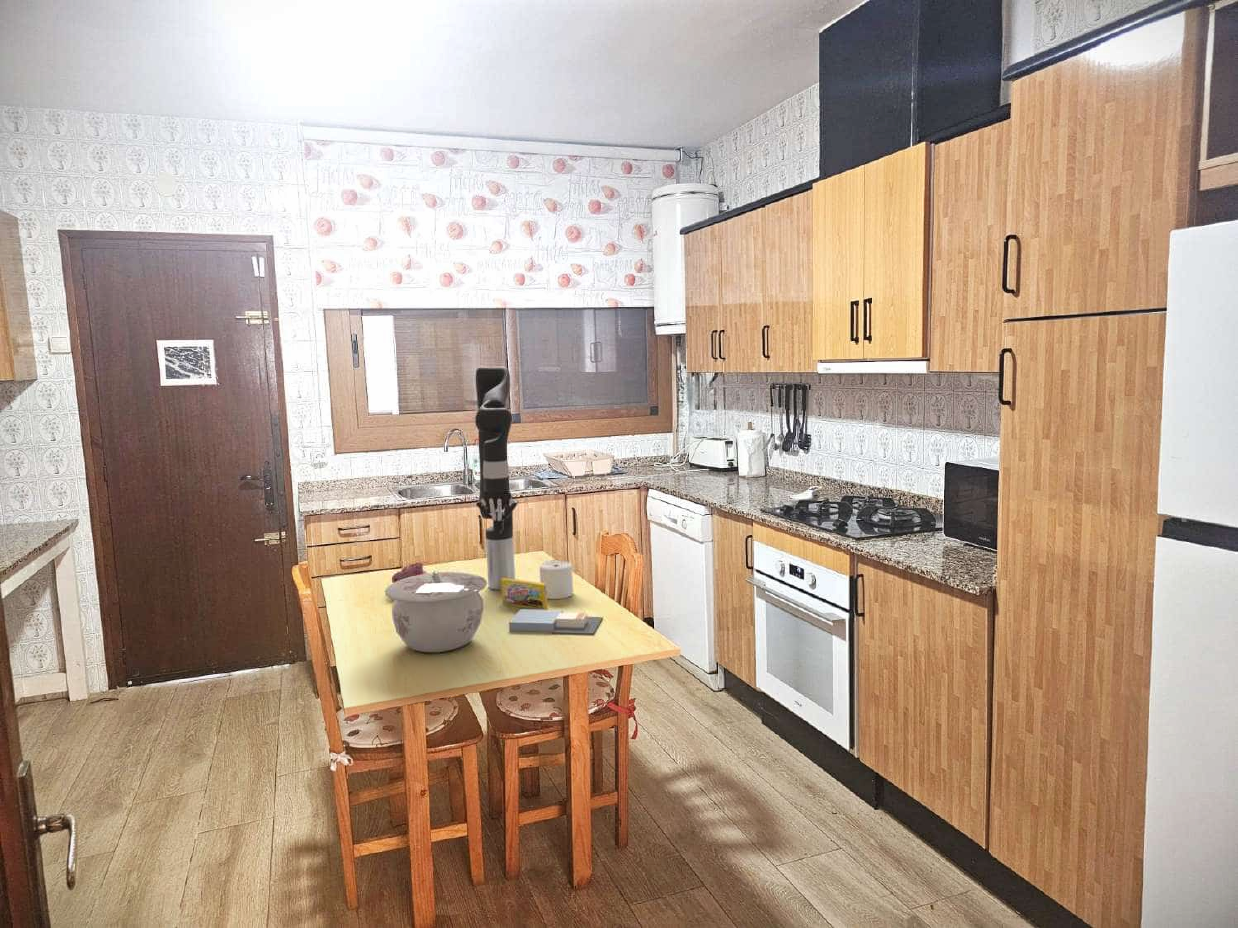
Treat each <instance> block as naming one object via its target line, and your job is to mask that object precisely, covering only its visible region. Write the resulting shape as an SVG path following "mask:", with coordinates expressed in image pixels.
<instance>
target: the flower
mask: <svg viewBox="0 0 1238 928" xmlns="http://www.w3.org/2000/svg"><path fill="white" fill-rule="evenodd" d="M423 568H424V562H420V561H419V562H416V563H412V564H409V565H408V566H404V567H403V568H401V569H400V571H397V572H396V573H394V574H393V575H392V577H391V581H392V584H393V583H395V582H397V581H399V580H402V579H405V578H409V577H412V576H417V575H422V574H428V573H427V571H425V570H423Z"/></svg>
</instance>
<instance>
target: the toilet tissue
mask: <svg viewBox="0 0 1238 928" xmlns="http://www.w3.org/2000/svg"><path fill="white" fill-rule="evenodd" d="M539 581H540V582H539V583H546V592H547V600H560V599H561V600H562V599H567V598H570V597H572V596H573V595H574V588H573V587H574V584H573V583H574V582H573V564H572V562H569V561H563V560H562V561H560V560H557V561H556V558H555V559H550V560H547V561H545V562H543V563H542V564H540V565H539ZM569 596H570V597H569Z"/></svg>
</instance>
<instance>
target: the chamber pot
mask: <svg viewBox="0 0 1238 928" xmlns="http://www.w3.org/2000/svg"><path fill="white" fill-rule="evenodd" d="M487 586H488V580H486V578H485V577H483V576H481V575H478V574H474V573H469V572H468V573H467V572H460V571H443V572H442V571H437V570H433V572H429V573H427V574H422V575H417V576H412V577H409V578H405V579H402V580H399V581H397V582H395V583H393V582H392V583H391V584H389V585H388V586H387V587H386V588H385V590H384V594H385V596H386V597H388V598H390V599H392V600H394V601H393V603H392V605H391V616H392V621H393V624H394V627H395V632H396V633H397V635H398V636H399V638H400V639H401V641H402V642H403V643H404V644H405V645H406V646H408V648H410V649H411V650H413V651H417V652H421V653H429V654H430V653H431V654H433V653H435V654H437V653H438V654H439V653H446V652H451V651H454V650H456V649H459V648H461V647H464V646H465V645H467V644H469V643H470V642H471V641H472V640H473V638H474V637H475V635H476V633H477V631H478V629H479V628H480V625H481V623H482V620H483V613H484V599H483V597H482V596H481V594H480V593H479V592H481V591H483V590H484V589H485V588H486V587H487Z"/></svg>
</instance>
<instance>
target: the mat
mask: <svg viewBox="0 0 1238 928" xmlns="http://www.w3.org/2000/svg"><path fill="white" fill-rule="evenodd" d="M601 620H602V621H603V616H587V622H586V624H585V626H584V627H583V628H570V627H555V629H554V630H553V631H552V632H551V634H553V635H555V634H556V635H581V634H582V635H583V634H587V636H589V635H590V636H594V635H595V634H596V632H597V630H598V628H599V626H600V624H601V623H602V621H601ZM600 622H601V623H600ZM596 629H597V630H596ZM595 631H596V632H595Z"/></svg>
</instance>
